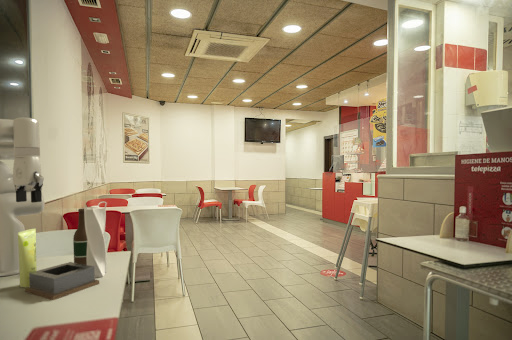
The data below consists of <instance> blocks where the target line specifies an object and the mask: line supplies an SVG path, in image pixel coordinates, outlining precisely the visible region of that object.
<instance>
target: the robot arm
mask: <svg viewBox="0 0 512 340" xmlns="http://www.w3.org/2000/svg"><path fill="white" fill-rule="evenodd" d="M40 143H41V142H40V123H39V120H38V119H36V118H33V117H17V118H14V119H8V118H7V119H6V118H0V277H6V276H8V277H9V276H13V275H18V274H19V275H20V271H19V248H18V232H22V231H26V230H25V225H24V223H23V222H22V221H21V220H19V219H18V218H17V217H20V216H30V215H37V214H40V213H42V212H43V211H44V210H45V204H46V203H45V198H44V196H43V192H42V191H43V186H44V177H43V176H42V167H41V166H42V165H41V160H40V158H41V149H40V146H41V145H40ZM1 160H4V161H8V160H9V161H10V160H12V161H13V168H12V169H11V167H10V166H9V165H7V164H6V163H5V162H3V161H1Z"/></svg>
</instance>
